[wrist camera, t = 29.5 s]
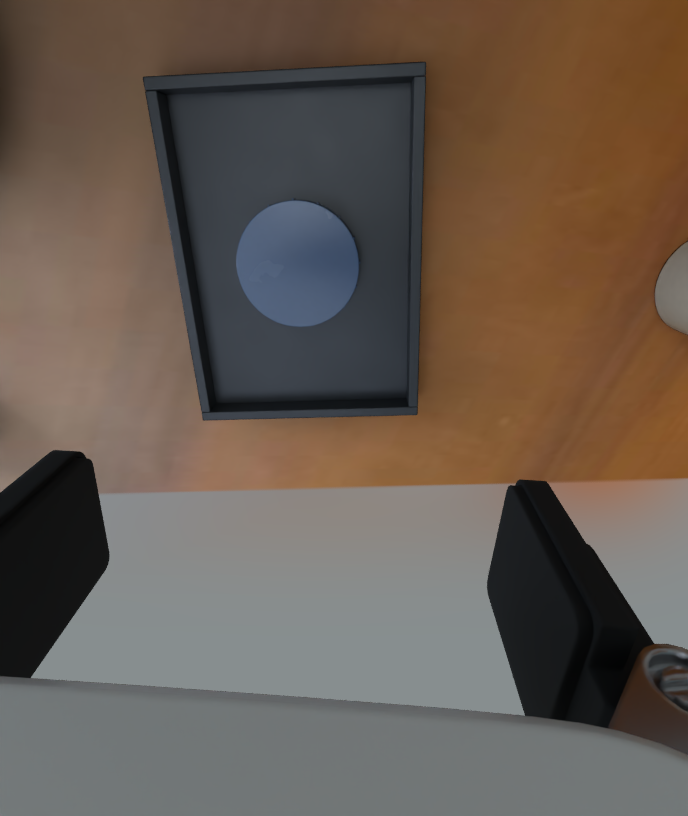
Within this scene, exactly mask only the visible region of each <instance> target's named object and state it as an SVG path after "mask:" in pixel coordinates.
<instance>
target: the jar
mask: <svg viewBox="0 0 688 816" xmlns="http://www.w3.org/2000/svg"><path fill="white" fill-rule="evenodd" d="M655 304H656V308H657V311H658V313H659V315H660V317H661V319H662V320H663V321H664V322H665V323H666V324H667V325H668V326H669V327H671V328H672V329H674V330H676V331H679V332H681V333H683V334H685V335H688V241H687V242H686V243H684V244H683V245H682V246H681V247H680V248H678V249H677V250H676V251H675V252H674V253H673V254H672V256H671V257H670V258H669V259H668V261H667V262H666V264H665V265H664V267H663V268H662V270H661V272H660V275H659V277H658V280H657V284H656V288H655Z"/></svg>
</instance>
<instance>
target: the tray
mask: <svg viewBox="0 0 688 816" xmlns="http://www.w3.org/2000/svg"><path fill="white" fill-rule="evenodd" d="M425 75H426V62H410V63H391V64H373V65H354V66H335V67H317V68H298V69H279V70H260V71H242V72H223V73H204V74H185V75H167V76H148V77H143V82H144V87H145V90H146V91H145V93H146V99H147V104H148V110H149V116H150V122H151V127H152V133H153V139H154V144H155V150H156V156H157V161H158V167H159V173H160V178H161V184H162V190H163V195H164V201H165V207H166V212H167V218H168V224H169V229H170V235H171V241H172V246H173V252H174V258H175V263H176V269H177V275H178V280H179V286H180V292H181V297H182V303H183V309H184V314H185V320H186V326H187V331H188V337H189V343H190V348H191V354H192V360H193V365H194V371H195V377H196V382H197V388H198V394H199V399H200V405H201V411H202V417H203V420H237V419H276V418H316V417H355V416H394V415H417V413H418V407H417V406H418V373H419V333H420V292H421V252H422V212H423V171H424V131H425V91H426V76H425ZM292 198H296V200H299V199H300V200H309V201H313V202H316V203H317V202H320V204H322V205H324V206H326V207H327V208H329V209H331V210H332V211H333V212H335V213H336V214H337V215H338V216H339V215H340V216H341V217H340V218H341V219H342V220H343V221H344V222H345V223H346V225H347V226H348V228H349V229H350V231H351V232H352V235H353V236H355V242H356V245H357V249H358V255H359V259H360V264H359V275H358V280H357V288H355V290H354V293H353V294H352V296H351V298H350V300H349V301H348V303H347V304H346V306H345V308H343V309H342V310H341V311H340V312H339V313H338V314H336V315H335V316H334V317H332V318H331V319H329V320H327V321H326V322H323V323H321V324H317V325H314V326H308V327H292V326H287V325H283V324H280V323H277V322H275V321H273V320H271V319H269V318H268V317H266V316H265V315H263V314H262V313H261V312H259V311H258V310H257V309H256V308H255V307H254V306H253V305H252V303H251V302H250V301H249V299H248V298H247V296H246V295H245V293H244V291H243V289H242V287H241V284H240V281H239V278H238V274H237V266H236V256H237V248H238V243H239V241H240V238H241V236H242V233H243V231H244V230H245V228H246V226H247V225H248V224H249V221H250V220H252V219H253V218H254V217H255V216H256V215H257V214H258V213H259V212H261V211H262V210H263V209H265V208H267V207H268V205H271V204H276V203H278V202H283V201H288V200H292Z"/></svg>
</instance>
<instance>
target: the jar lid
mask: <svg viewBox="0 0 688 816" xmlns="http://www.w3.org/2000/svg"><path fill="white" fill-rule="evenodd" d="M340 217H341V216H340V215H339V216H338V215H337V214H336V213H335V212H333V211H332V210H331V209H329V208H327V207H326V206H324V205H322V204H320V202H317V203H316V202H313V201H309V200H300V199H299V200H296V198H292V200H288V201H283V202H278V203H276V204H271V205H268V207H267V208H265V209H263V210H262V211H261V212H259V213H258V214H257V215H256V216H255V217H254V218H253V219H252V220H250V221H249V224H248V225H247V226H246V228H245V230H244V231H243V233H242V236H241V238H240V241H239V243H238V248H237V256H236V266H237V274H238V278H239V281H240V284H241V287H242V289H243V291H244V293H245V295H246V296H247V298H248V299H249V301H250V302H251V303H252V305H253V306H254V307H255V308H256V309H257V310H258V311H259V312H261V313H262V314H263V315H265V316H266V317H268V318H269V319H271V320H273V321H275V322H277V323H280V324H283V325H287V326H292V327H308V326H314V325H317V324H321V323H323V322H326V321H327V320H329V319H331V318H332V317H334V316H335V315H336V314H338V313H339V312H340V311H341V310H342V309H343V308H345V306H346V304H347V303H348V301H349V300H350V298H351V296H352V294H353V293H354V290H355V288H357V280H358V275H359V264H360V259H359V255H358V249H357V245H356V242H355V236H353V235H352V232H351V231H350V229H349V228H348V226H347V225H346V223H345V222H344V221H343V220H342V219H341V218H340Z"/></svg>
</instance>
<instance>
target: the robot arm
mask: <svg viewBox="0 0 688 816" xmlns="http://www.w3.org/2000/svg"><path fill="white" fill-rule="evenodd" d="M108 562H109V549H108V543H107V538H106V532H105V527H104V522H103V516H102V511H101V505H100V500H99V494H98V489H97V483H96V478H95V473H94V467H93V463H92V461H91V460H90V459H86V457H85V455H84V454H83V453H82V452H77V451H61V450H53V451H52V452H50V453H49V454H47V455H46V456H45V457H44V458H42V459H41V460H40V461H39V462H37V463H36V464H35V465H34V466H33V467H31V468H30V469H29V470H28V471H26V472H25V473H24V474H23V475H21V476H20V477H19V478H18V479H17V480H15V481H14V482H13V483H12V484H10V485H9V486H8V487H7V488H5V489H4V490H3V491H2V492H1V493H0V816H688V650H687V649H685V648H682V647H678V646H674V645H669V644H654V643H653V641H652V640H651V638H650V637H649V635H648V633H647V632H646V630H645V629H644V627H643V626H642V624H641V622H640V621H639V619H638V618H637V616H636V615H635V613H634V612H633V610H632V609H631V607H630V605H629V604H628V602H627V601H626V599H625V598H624V596H623V595H622V593H621V591H620V590H619V588H618V587H617V585H616V584H615V582H614V581H613V579H612V578H611V576H610V574H609V573H608V571H607V570H606V568H605V567H604V565H603V563H602V562H601V560H600V559H599V557H598V556H597V554H596V553H595V551H594V550H593V549H592V547H591V546H590V545H588V544H586V543H585V541H584V539H583V538H582V536H581V535H580V533H579V532H578V530H577V528H576V527H575V525H574V524H573V522H572V521H571V519H570V517H569V516H568V514H567V513H566V511H565V510H564V508H563V506H562V505H561V503H560V502H559V500H558V499H557V497H556V495H555V494H554V492H553V491H552V489H551V487H550V486H549V484H548V483H547V482H546V481H534V480H518V481H517V483H516V485H515V486H511V485H510V486H509V487H508V489H507V492H506V497H505V501H504V506H503V510H502V516H501V520H500V524H499V529H498V533H497V538H496V543H495V548H494V552H493V557H492V561H491V566H490V571H489V575H488V581H487V590H488V596H489V599H490V603H491V606H492V609H493V612H494V616H495V618H496V622H497V625H498V629H499V632H500V635H501V638H502V642H503V645H504V648H505V651H506V655H507V658H508V661H509V664H510V668H511V671H512V674H513V678H514V680H515V684H516V687H517V691H518V694H519V697H520V700H521V704H522V707H523V710H524V713H525V716H521V715H511V714H500V713H490V712H480V711H469V710H459V709H448V708H436V707H423V706H411V705H397V704H385V703H372V702H359V701H346V700H333V699H321V698H308V697H294V696H280V695H267V694H253V693H239V692H226V691H225V692H224V691H211V690H197V689H183V688H168V687H155V686H140V685H126V684H111V683H95V682H80V681H65V680H50V679H34V678H31V676H32V675H33V673H34V672H35V671H36V669H37V668H38V666H39V665H40V663H41V662H42V661H43V659H44V658H45V656H46V655H47V653H48V652H49V650H50V649H51V648H52V646H53V645H54V643H55V642H56V640H57V639H58V637H59V636H60V635H61V633H62V632H63V630H64V629H65V627H66V626H67V625H68V623H69V621H70V620H71V619H72V617H73V616H74V615H75V613H76V611H77V610H78V609H79V607H80V606H81V604H82V603H83V602H84V600H85V599H86V597H87V596H88V594H89V593H90V592H91V590H92V589H93V587H94V586H95V584H96V583H97V581H98V580H99V579H100V577H101V576H102V574H103V573H104V571H105V570H106V568H107V565H108Z"/></svg>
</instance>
